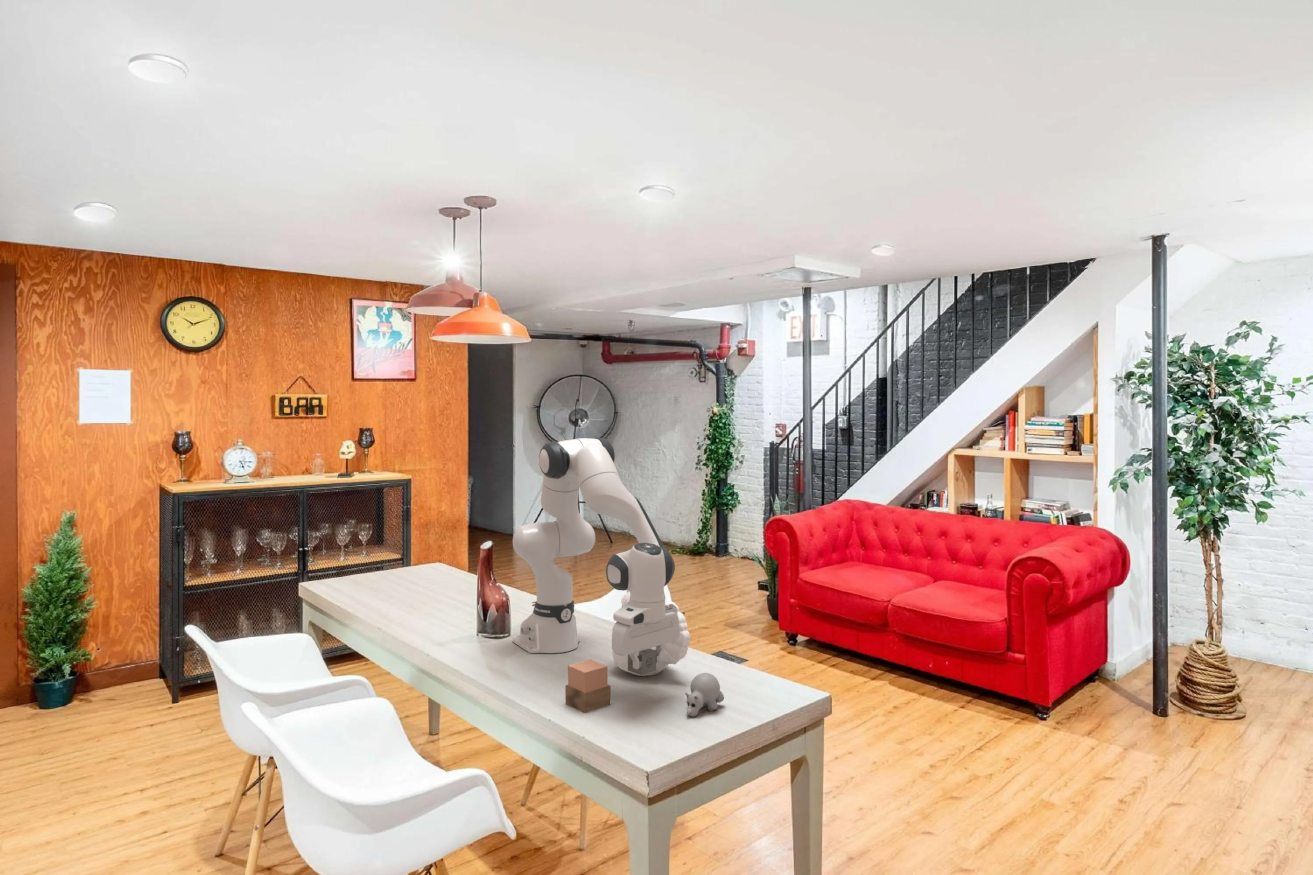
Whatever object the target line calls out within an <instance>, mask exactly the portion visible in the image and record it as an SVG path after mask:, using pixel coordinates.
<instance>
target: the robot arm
mask: <svg viewBox="0 0 1313 875" xmlns="http://www.w3.org/2000/svg"><path fill="white" fill-rule="evenodd" d="M615 454H616V453H615V449H614V446H613V445H612V443H611V442H610V441H609V440H608V439H606V438H602V437H595V438H591V437H590V438H585V437H583V438H582V437H579V438H574V439H573V438H572V439H566V440H561V441H559V440H558V441H556V440H555V441H551V442H548V443H545V444H544V445H542V447H541V449H540V450H539V454H538V455H539V456H538V460H539V461H538V463H539V468H540V470H541V471H540V472H541V473H542V474H543V477H542V478H543V479H542V485H541V486H542V487H541V495H540V496H541V497H540V506H541V507H542V510H544V512H545V513H547V514H548V515H549V516H551V517H552V518H553V517H554V518H556V520H555V521H544V522H543V521H542V522H541V521H540V522H532V523H528V524H523V525H520V526H518V527H517V529H516V530H515V531H514V533H513V536H512V546H513V550H514V552H515V553H516V554H517V555H518V556H519V558H521V559H522V560H524V561H525V562H526V563H527V564H528V565H529V566H530V568H531V569H532V572H533V575H534V578H535V587H536V601H532V602H531V603H532V604H531V606H532V607H533V612H532V613H531V614H530V615H529V616H528V617H527V618H526V619H524V620H523V621H522V622H521V624H520V629H519V635H516V636H515V637H513V638H512V642H513V643H514V644H516V645H517V646H518V647H520V648H522V650H525V652H528V653H530V654H540V653H541V654H561V653H566V652H571V651H573V650H575V649H577V648H578V646H579V643H580V642H581V641H580V636H578V628H577V619H576V616H575V615H574V613H575V600H574V599H573V597H574V596H573V588H574V587H573V584H574V583H573V577H572V575H571V573H570V572H568V571H567V570H566V569H563V568H561V567H559V566H557V565H556V564H555V558H562V557H577V556H580V555H584V554H587V553H589V552H591V550H592V549H593V547H594V546H595V543H596V532H595V530H594V528H593V526H592V525H591V524H590V523H589V522H588V521H587V520H585V518H583V517H582V515H581V514H580V510H579V496H580V495H579V492H581V496H582V499H583V501H584V502H585V505H587V507H588V508H589V509H590V511H592V512H594V513H595V514H599V515H602V516H605V517H608V518H609V517H610V518H613V519H615V520H618V521H620V522H623V523H625V525H628V527H630V529H631V531H632V533H633V534H634V537H635V539H636V540H637V542H638V543H636V544H634V545H632V547H631V548H630V549H628V550H626V551H622V552H619V553H615V554H612V555H611V557H610V558H609V559H608V561H607V564H606V568H605V569H606V570H605V572H606V573H605V576H606V580H607V582H608V584H609V585H610V586H611V587H612V588H613V589H615V590H616V591H627V590H628V591H630V602H628V603H627V604H626V605H624V606H623V607H622V606H621V607H622V608H621V607H620V608H619V609H617V610H615V611H614V612H613V616H612V617H613V620H614V621H615V623H614V624H613V626H612V631H611V632H612V633H611V649H612V652H614V653H615V654H618V655H620V656H626V655H630V657H631V659H632V661H633V668H635V669H639V668H641V667H642V661H640V660H639V659H638V657H637V656H639V651H642V650H646V649H649V648H652V647H656V663H658V662H660V661H661V654H662V652H663V650H664V644H666V643H669V642H673V641H676V640H678V638H679V636H680V627H679V618H678V615H677V614H678V610H677V608H676V606H675V605H673V604H669V605H666V606H665V602H666V594H665V587H666V586H667V585H668V584H669V583H670V582H671V580H672V578H673V577H674V574H675V570H676V566H675V564H676V563H675V561H674V558H673V556H672V554H671V553H670V551H669V550H668V549H667V548H666V547H665V545H664V544H663V542H662V540H661V538H660V536H659V535H658V532H657V531H656V528H655V527H654V525H653V523H652V521H651V519H650V517H649V516H648V513H647V511H646V510H645V507H644V506H643V504H642V503H641V501H640V500H639V498H637V497H636V496H635V495H634V494H631V492H630V491H629V490H628V489H627V487H626V486H625V485H624V483H623V482H622V480H621V478H620V475H619V472H618V469H617V467H616V464H615V459H616V455H615Z"/></svg>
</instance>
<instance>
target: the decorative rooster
mask: <svg viewBox="0 0 1313 875" xmlns="http://www.w3.org/2000/svg"><path fill="white" fill-rule="evenodd" d="M620 600H621V602H620V603H621V607H620V608H622V607H623V606H624V605H626V604H627V603H628V602H630V591H628V590H626V593H625V594H624V595H622V596H621V599H620ZM669 604H673V605H675V606H676V608H677V610H678V614H677V615H678V618H679V627H680V636H679V638H678V640H676V641H673V642H669V643H666V644H664V650H663V652H662V654H661V661H660V662H658V663H656V670H655V671H652V672H650V673H647V674H644V675H640V674H637V673H634V672H631V671H628V655H626V656H620V655H618V654H615V653H614V652H613V651H612V658H613V661H614V664H616V666H617V667H618V668H620V669H621V670H623V671H624V672H627V673H630V674H632V675H634V676H635V675H636V676H640V677H647V676H648V677H649V676H656V675H657V674H659V673H660V672H662V671H664V670H665V669H666V668H667V667H668V666H669V665H676V664H677V663H679V662H680V660H683V659H684V658H685V657H686V655H687V654H688V650H689V648H688V647H690V643H691V642H690V640H691V634H690V632H689V630H688V628H689V626H688V623H687V619H686V616H684V614H683V613H682V612H681V611H680V608H679V606H678V605H677V604H676V603H675V602H674V601H665V606H666V605H669ZM650 649H653V650H656V647H652V648H650Z"/></svg>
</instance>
